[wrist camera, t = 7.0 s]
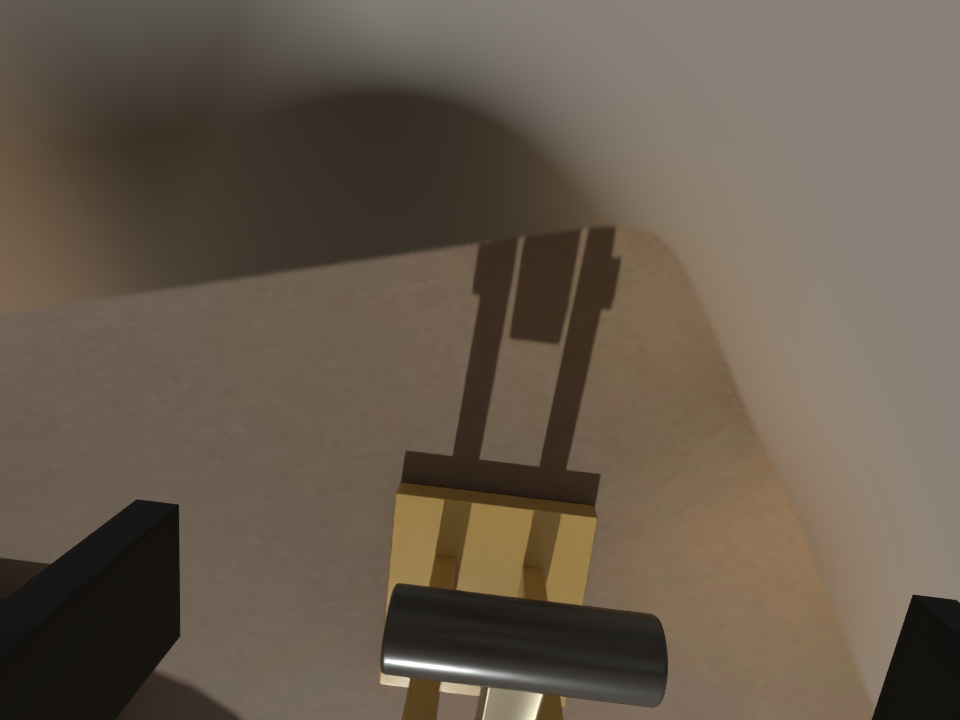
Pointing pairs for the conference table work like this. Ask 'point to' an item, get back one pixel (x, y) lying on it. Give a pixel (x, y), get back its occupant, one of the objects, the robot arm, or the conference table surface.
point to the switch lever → (524, 649)
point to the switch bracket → (486, 561)
